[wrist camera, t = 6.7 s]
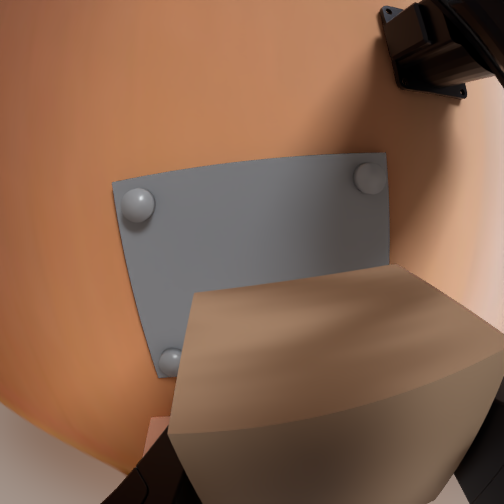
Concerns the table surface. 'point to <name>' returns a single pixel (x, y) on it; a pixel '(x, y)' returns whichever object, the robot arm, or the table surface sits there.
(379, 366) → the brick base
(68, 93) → the table surface
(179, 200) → the baseplate
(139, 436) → the table surface
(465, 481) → the robot arm
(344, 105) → the table surface
